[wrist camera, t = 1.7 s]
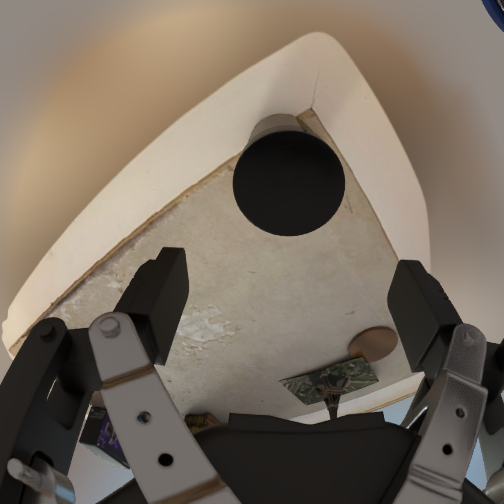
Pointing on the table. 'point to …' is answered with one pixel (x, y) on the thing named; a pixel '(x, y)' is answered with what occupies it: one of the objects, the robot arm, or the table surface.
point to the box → (103, 438)
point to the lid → (288, 181)
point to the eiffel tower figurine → (331, 383)
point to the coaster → (373, 344)
